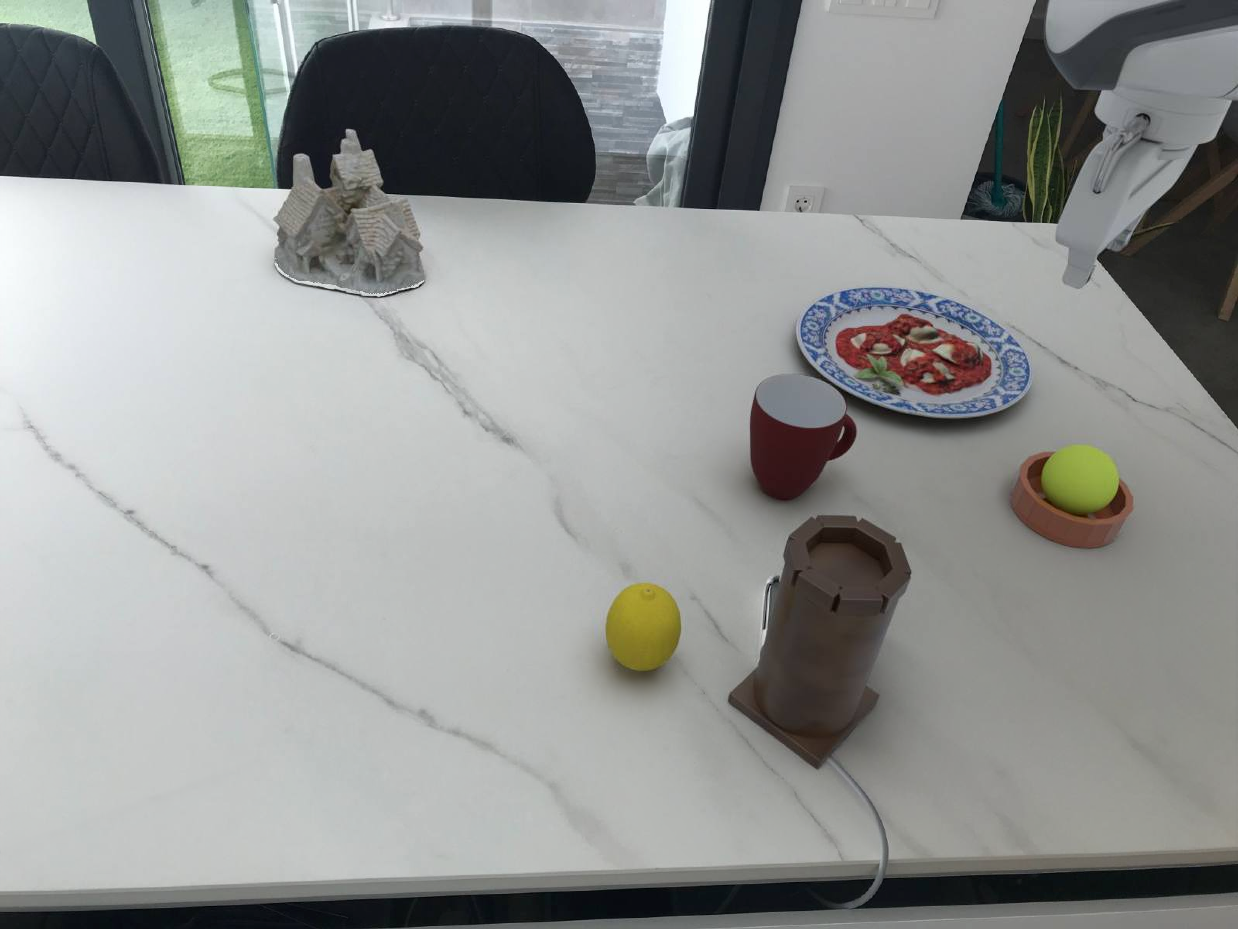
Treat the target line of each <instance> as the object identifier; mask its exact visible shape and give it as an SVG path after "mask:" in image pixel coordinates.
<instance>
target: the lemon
mask: <svg viewBox="0 0 1238 929" xmlns="http://www.w3.org/2000/svg"><path fill="white" fill-rule="evenodd" d="M681 618H682V617H681V612H680V608H679V606H678V604H677V602H676V599H675V598H674V597H673V595H672V594H671V593H670V592H669V591H668V590H666V589H665V588H663V587H662V586H660V585H658V584H655V583H650V582H638V583H633V584H631V585H629V586H627V587H625V588H624V589H622V590H621V591H620V592H619V593H618V594H617V595H616V596H615V598H614V600H613V601H612V603H611V605H610V607H609V609H608V612H607V616H606V620H605V621H606V622H605V630H604V631H605V640H606V644H607V646H608V649H609V650H610V652H611V654H612V656H613V657H614V658H615V659H616V660H617V662H618V663H620V664H621V665H622V666H624V667H625V668H628V669H630V670H633V671H638V672H647V671H651V670H655V669H657V668H659V667H661V666H663V665H664V664H665V663H667V662H668V661H669V660H670V659H671V657H672V656H673V654H674V653H675V651H676V650H677V648H678V646H679V642H680V638H681V634H682V619H681Z"/></svg>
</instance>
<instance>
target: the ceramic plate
mask: <svg viewBox="0 0 1238 929" xmlns="http://www.w3.org/2000/svg"><path fill="white" fill-rule="evenodd" d="M795 329H796V330H795V335H796V341H797V344H798V347H799V348H800V351H801V353H802V354H803V356H804V357H805V359H806V360H807V361H808V362H809V364H810V365H811V366H812V367H813V368H814V369H815V370H816V371H817V372H818V373H819V374H820V375H821V376H822V377H824V378H825V379H827V380H828V381H829V382H830V383H832V384H834V385H835V386H836V387H839V388H840V389H842V390H843V391H845V392H847V393H849V394H851V395H853V396H854V397H857V398H860V399H861V400H863V401H866V402H868V403H870V404H873V405H877V406H880V407H883V408H886V409H889V410H892V411H895V412H899V413H903V414H909V415H913V416H921V417H926V418H934V419H969V418H977V417H985V416H987V415H991V414H996V413H998V412H1001V411H1004V410H1006V409H1009V408H1010V407H1012V406H1013V405H1015V404H1016V403H1018V402H1019V401H1020V400H1021V399H1022V398H1023V397H1025V396H1026V394H1027V393H1028V392H1029V389H1030V387H1031V386H1032V383H1033V379H1034V367H1033V366H1034V365H1033V363H1032V360H1031V358H1030V354H1029V353H1028V351H1027V349H1025V347H1024V346H1023V343H1021V342H1020V340H1018V338H1017V336H1015V335H1014V334H1013V333H1012V332H1011V331H1010V330H1008V329H1007V328H1006V327H1004V326H1003V325H1002V324H1000V322H998V321H996V319H993V318H992V317H991V316H988V315H987V314H985V313H984V312H982V311H980V310H977V309H976V308H974V307H971V306H970V305H967V304H965V303H963V302H960V301H957V300H955V299H953V298H949V297H947V296H943V295H939V294H936V293H932V292H929V291H925V290H921V289H916V288H915V289H914V288H908V287H901V286H891V285H890V286H889V285H863V286H854V287H853V286H852V287H846V288H842V289H838V290H834V291H830V292H829V293H825V294H823V295H821V296H819V297H817V298H815V299H814V300H812V301H811V302H810V303H808V304H807V305H806V306H805V307H804V309H803V310H802V311H801V312H800V314H799V315H798V318H797V320H796V326H795Z"/></svg>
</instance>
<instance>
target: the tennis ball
mask: <svg viewBox="0 0 1238 929" xmlns="http://www.w3.org/2000/svg"><path fill="white" fill-rule="evenodd" d="M1054 452H1055V453H1054V454H1053V455H1052V456H1051V457H1050V458H1049V459H1048V461H1047V462H1046V464H1045V466H1044V468H1043V471H1042V476H1041V484H1042V488H1043V491H1044V494H1045V496H1046V497H1047V499H1048V500H1049V501H1050V502H1051V503H1052V504H1053V505H1054V506H1055V507H1056V508H1058V509H1060V510H1061V511H1063V512H1066V513H1069V514H1074V515H1086V514H1091V513H1094V512H1097V511H1099V510H1101V509H1103V508H1104V507H1105V506H1107V505H1108V504H1109V503H1110V502H1111V501H1112V499H1113V498H1114V496H1115V495H1116V492H1117V489H1118V485H1119V478H1120V476H1119V471H1118V468H1117V465H1116V464H1115V462H1114V460H1113V459H1112V458H1111V456H1109V455H1108V454H1107V453H1106V452H1104V451H1103V450H1101V449H1100V448H1097V447H1095V446H1093V445H1087V444H1072V445H1067V446H1065V447H1062V448H1060V449H1058V450H1057V451H1054Z"/></svg>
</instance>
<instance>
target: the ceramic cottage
mask: <svg viewBox="0 0 1238 929" xmlns="http://www.w3.org/2000/svg"><path fill="white" fill-rule="evenodd" d="M345 137H346V138H343V139H341V141H340V148H339V149H340V153H338V154H332V160H331V162H330V174H329V178H330V180H331V183H332V184H331V187H328V188H321V187H320V186H319V185H318V184H317V183H316V181H315V175H314V171H313V167H312V164H311V163H312V162H311V159H310V156H309V155H307V154H305V153H296V154H294V155H293V160H292V164H293V166H292V168H293V171H292V172H293V173H292V183H293V184H292V187H291V190H290V191H289V193H288V196H287V197H286V199H285V200H284V201H283V203H282V206H281V208H280V209H278V211H277V215H275V216H274V217H273V218H272V221H274V222H275V224H276V225H277V226H278V227H279V228H278V230H277V232H276V235H277V242H278V244H277V246H276V247H275V248H274V262H275V261H276V263H277V264H278V267H279V268H280V269H281V270H282V271H283V272H284V273H285V274H287V275H289V277H291V278H294V279H296V280H298V281H310V282H313V283H315V282H316V283H318V282H319V283H321V284H331V285H336V286H338V287H340V288H348V289H351V290H356V291H359V292H360V291H363V292H365V293H369V294H370V293H371V294H373V293H374V294H375V293H376V294H377V293H379V294H380V293H383V294H384V293H385V292H387V293H389V292H390V291H391V292H392V291H397V289H401V288H407V287H411V286H412V285H413V286H414V285H415V284H418V283H419V282H421V281H423V280H424V278H425V279H426V274H425V275H424V273H425V270H424V267H423V264H421V263H422V260H421V261H420V259H421V256H420V253H421V252H422V251H423V250H424V246H423V245H422V243H421V242H420V240H419V239H420V238H421V231H420V229H419V227H418V225H417V222H416V219H415V216H414V214H413V212H412V207H411V205H410V202H409V200H408V199H409V198H408V197H407V195H405V196H402V197H392V198H391V199H390V198H389V196H388V195H387V194H386V193H385V192H384V191H383V190H381V187H382V186H383V185H384V179H383V178H382V175H381V171H380V167H379V165H378V162H377V160H376V157H375V153H374V151H373V150H372V149H367V150H364V151H363V150H362V147H361V143H360V140H359V138H358V136H357V131H356V130H354V129H351V128H346V129H345ZM275 258H276V259H275ZM422 267H423V268H422Z"/></svg>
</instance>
